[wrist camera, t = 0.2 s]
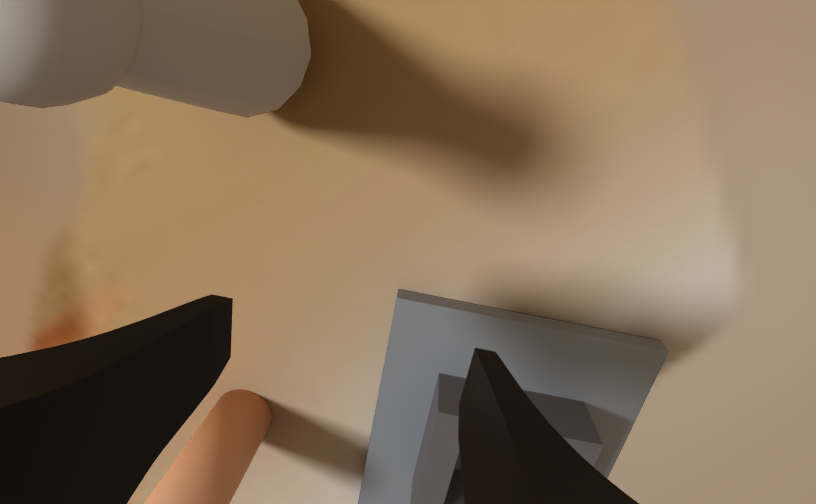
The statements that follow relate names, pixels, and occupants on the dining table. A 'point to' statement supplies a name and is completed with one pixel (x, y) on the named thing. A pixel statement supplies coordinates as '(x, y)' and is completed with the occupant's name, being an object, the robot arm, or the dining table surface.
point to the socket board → (529, 365)
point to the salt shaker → (154, 51)
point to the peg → (216, 453)
